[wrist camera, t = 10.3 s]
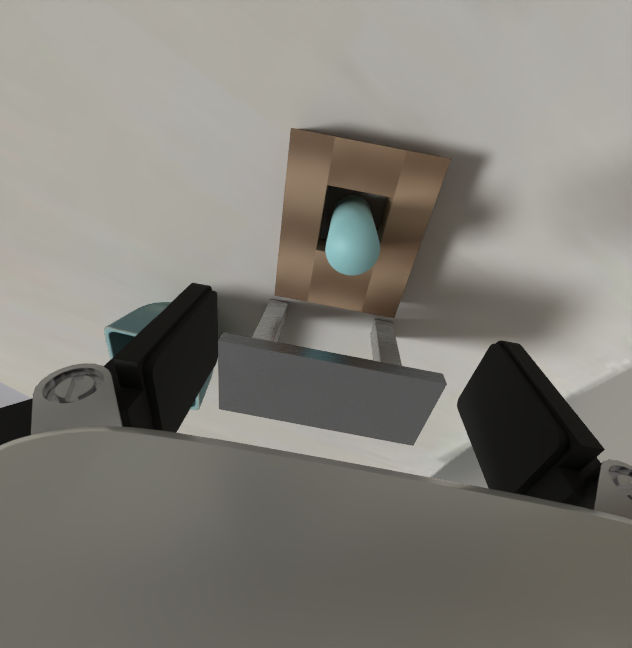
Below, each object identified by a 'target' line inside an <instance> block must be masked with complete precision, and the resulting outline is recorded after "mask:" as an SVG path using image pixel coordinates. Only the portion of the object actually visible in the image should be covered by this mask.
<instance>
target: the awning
mask: <svg viewBox="0 0 632 648" xmlns="http://www.w3.org/2000/svg"><path fill="white" fill-rule="evenodd" d="M287 306H288V302H283V301H277V300H272V299H270V301H269V303H268V305H267V307H266V309H265V311H264V314H263V316H262V318H261V320H260V322H259V324H258V326H257V328H256V330H255V332H254V334H253V336H252V337H247V336H241V335H236V334H231V333H226V332H223V334H222V335H221V337H220V338H219V340H218V373H219V409H222V410H227V411H232V412H238V413H243V414H248V415H253V416H259V417H264V418H269V419H275V420H280V421H285V422H290V423H296V424H301V425H306V426H312V427H317V428H322V429H328V430H333V431H338V432H343V433H349V434H354V435H359V436H365V437H370V438H375V439H380V440H386V441H391V442H396V443H402V444H407V445H412V446H413V445H414V443H415V441H416V439H417V438H418V436H419V434H420V432H421V430H422V428H423V427H424V425H425V423H426V421H427V419H428V418H429V416H430V414H431V412H432V410H433V408H434V407H435V405H436V403H437V401H438V399H439V397H440V396H441V394H442V392H443V390H444V388H445V386H446V385H447V384H446V381H445V378H444V376H443V374H441V373H436V372H431V371H425V370H420V369H415V368H410V367H404V366H402V364H401V359H400V355H399V350H398V346H397V341H396V337H395V332H394V328H393V323H392V322H387V321H382V320H377V319H375V321H374V324H373V327H372V330H371V333H370V335H371V345H372V355H373V360H368V359H362V358H357V357H352V356H347V355H341V354H336V353H331V352H326V351H320V350H315V349H310V348H305V347H299V346H294V345H289V344H283V343H278V339H279V336H280V333H281V330H282V327H283V325H284V322H285V319H286V314H287Z"/></svg>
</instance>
